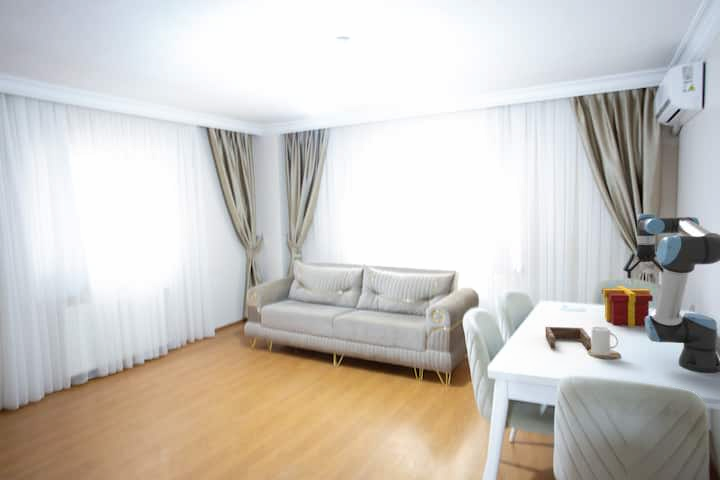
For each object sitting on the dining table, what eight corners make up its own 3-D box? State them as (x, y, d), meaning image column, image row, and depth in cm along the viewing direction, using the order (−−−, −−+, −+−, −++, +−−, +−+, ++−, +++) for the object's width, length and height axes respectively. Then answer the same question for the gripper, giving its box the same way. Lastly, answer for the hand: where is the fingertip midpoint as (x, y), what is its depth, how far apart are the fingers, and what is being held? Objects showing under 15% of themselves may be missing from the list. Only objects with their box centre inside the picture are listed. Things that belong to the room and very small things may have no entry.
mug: (620, 353, 216) (620, 329, 215) (613, 358, 211) (613, 333, 210) (595, 348, 225) (595, 325, 224) (588, 352, 220) (587, 328, 219)
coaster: (624, 360, 210) (624, 358, 210) (591, 358, 214) (591, 356, 214) (615, 350, 223) (615, 349, 223) (585, 349, 227) (585, 347, 227)
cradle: (591, 350, 225) (591, 338, 225) (550, 348, 231) (550, 337, 230) (582, 338, 245) (582, 327, 245) (545, 337, 250) (545, 326, 250)
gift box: (641, 317, 284) (642, 286, 282) (656, 328, 260) (656, 293, 258) (598, 316, 291) (598, 286, 289) (609, 326, 267) (609, 293, 265)
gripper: (671, 242, 227) (670, 283, 228) (616, 243, 234) (616, 283, 235) (677, 244, 220) (676, 286, 221) (621, 244, 226) (620, 285, 228)
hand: (645, 284), depth 228 cm, fingers open, 13 cm apart
